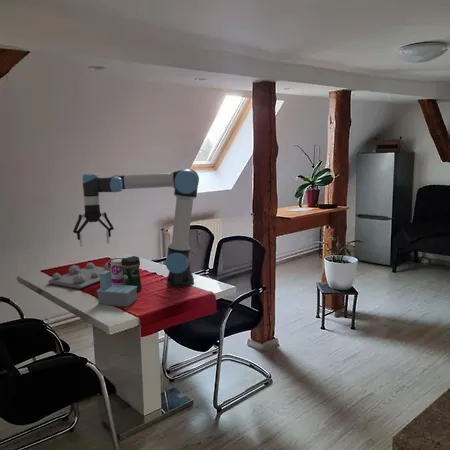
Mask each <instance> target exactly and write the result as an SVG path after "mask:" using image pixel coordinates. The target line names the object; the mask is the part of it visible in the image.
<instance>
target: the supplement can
mask: <svg viewBox="0 0 450 450" xmlns="http://www.w3.org/2000/svg"><path fill="white" fill-rule="evenodd" d="M122 259H123V258H114V259H112V260H110V261H111V263H110V262H109V263H110V264H111V278H112V285H123V268H122V266H121V260H122Z"/></svg>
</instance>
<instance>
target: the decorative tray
mask: <svg viewBox="0 0 450 450" xmlns="http://www.w3.org/2000/svg"><path fill="white" fill-rule="evenodd" d="M93 263H94V262H87V263H86V265H85V266H84V268H81V267H80V266H79V265H75V264H73V265H71V266H69V269H67V271H68V272H67V273H65V274H63V275H61V274H60V273H59V272H55V273H53V274H52V276H51V279H49V280H48V284H50V285H52V286H53V285H55V286H60V287H65V288H72V289H76V290H81V289H85V288H87V287H89V286H92V285H94V284H95V285H96V284H97V283H100V273H102V272H103V271H105V270H108V271H109V269H108V263H109V262H105V263H104V266H96V265H95V263H94V264H93Z"/></svg>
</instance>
